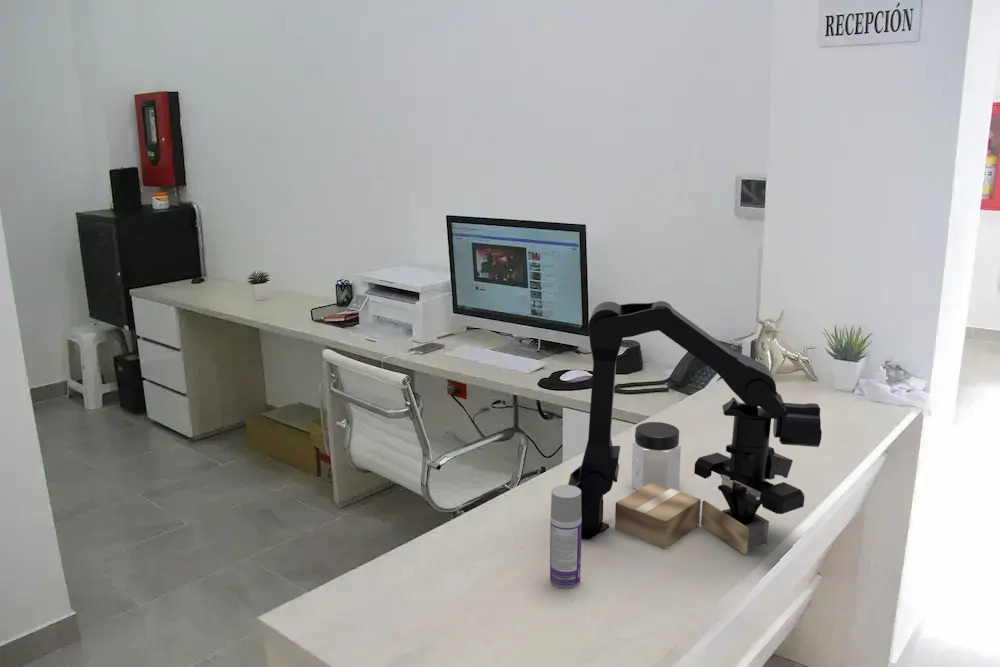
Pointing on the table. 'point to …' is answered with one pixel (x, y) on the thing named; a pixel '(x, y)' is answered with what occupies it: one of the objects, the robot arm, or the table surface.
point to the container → (565, 536)
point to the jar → (656, 455)
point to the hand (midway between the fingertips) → (742, 529)
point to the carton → (657, 514)
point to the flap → (734, 528)
